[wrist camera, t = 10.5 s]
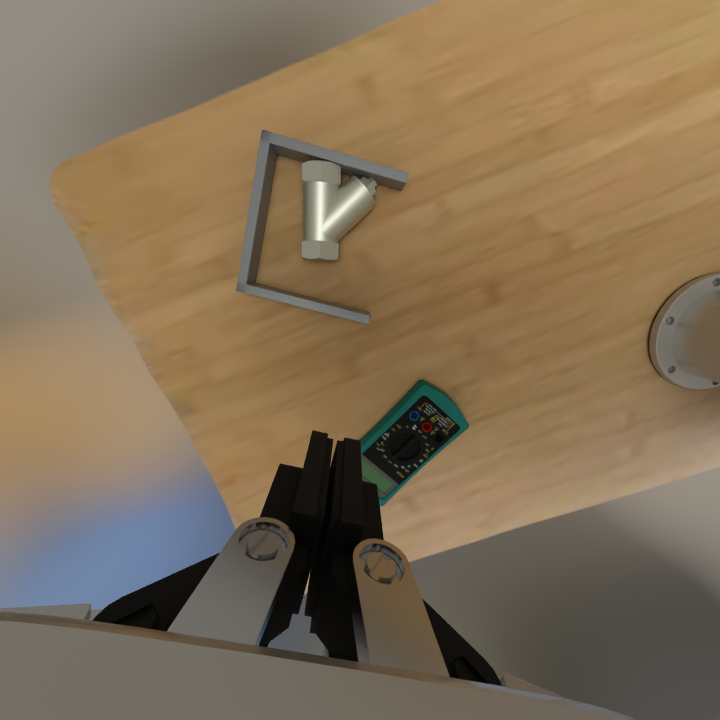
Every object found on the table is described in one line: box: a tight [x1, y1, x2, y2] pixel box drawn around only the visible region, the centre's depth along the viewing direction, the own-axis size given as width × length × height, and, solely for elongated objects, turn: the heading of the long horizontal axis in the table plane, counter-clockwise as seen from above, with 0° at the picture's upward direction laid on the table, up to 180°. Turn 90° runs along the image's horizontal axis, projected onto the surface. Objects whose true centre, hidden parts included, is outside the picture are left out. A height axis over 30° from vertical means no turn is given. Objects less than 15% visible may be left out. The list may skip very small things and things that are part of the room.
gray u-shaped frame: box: [236, 130, 409, 324], centre depth 31 cm, size 13×14×3 cm
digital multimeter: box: [360, 380, 469, 506], centre depth 38 cm, size 7×15×3 cm, turn 137°
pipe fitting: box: [302, 160, 377, 261], centre depth 31 cm, size 8×4×7 cm
